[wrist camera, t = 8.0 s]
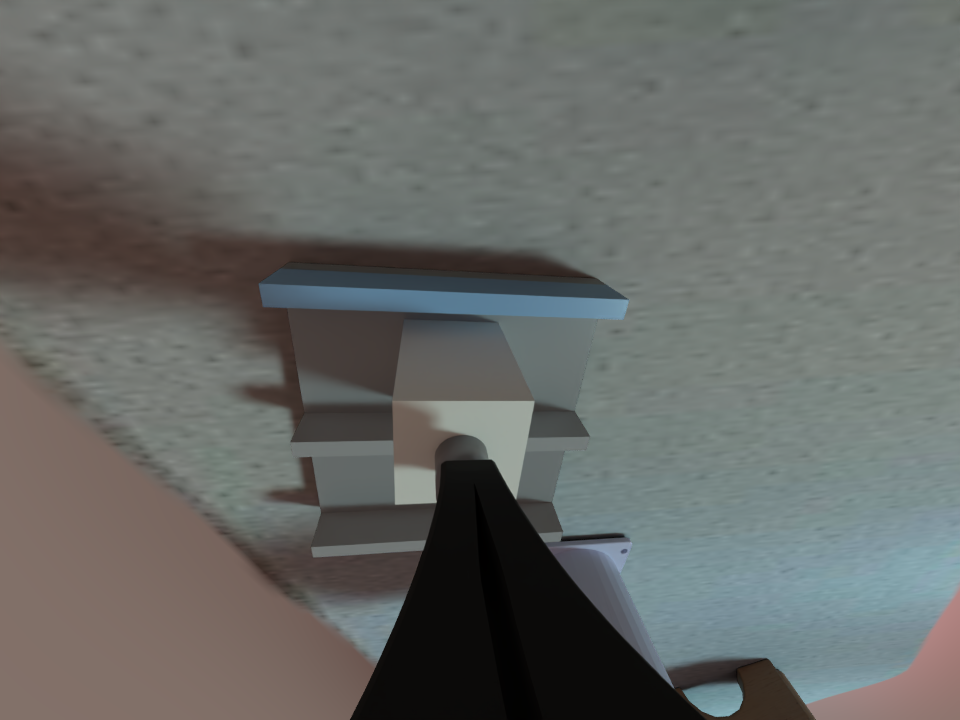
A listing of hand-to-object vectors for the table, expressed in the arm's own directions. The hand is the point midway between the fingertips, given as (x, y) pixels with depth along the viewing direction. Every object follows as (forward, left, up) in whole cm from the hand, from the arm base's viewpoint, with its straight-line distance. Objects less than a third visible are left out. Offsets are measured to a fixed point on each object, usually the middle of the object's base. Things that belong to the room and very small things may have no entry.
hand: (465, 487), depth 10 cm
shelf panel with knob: (-3, 0, -8) cm, 9 cm away
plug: (0, 0, -7) cm, 7 cm away
